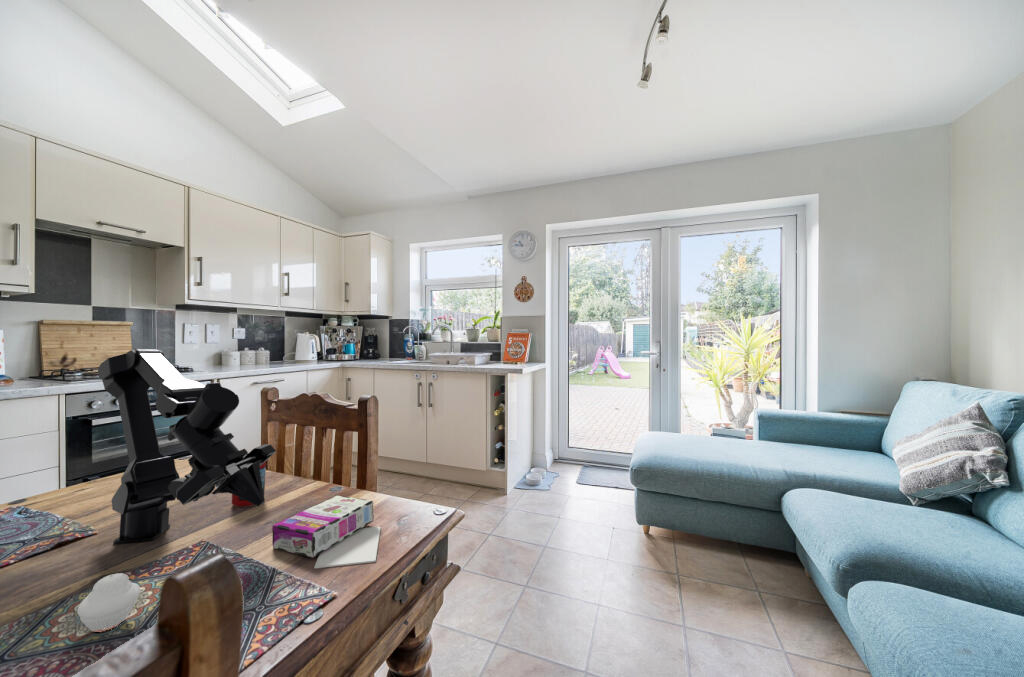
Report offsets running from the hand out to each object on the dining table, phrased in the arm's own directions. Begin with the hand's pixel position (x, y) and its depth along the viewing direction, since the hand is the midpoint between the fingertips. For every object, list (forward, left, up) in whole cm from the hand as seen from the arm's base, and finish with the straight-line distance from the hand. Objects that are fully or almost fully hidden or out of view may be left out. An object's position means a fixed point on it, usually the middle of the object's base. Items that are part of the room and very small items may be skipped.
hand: (261, 503), depth 72 cm
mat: (+16, +2, -10) cm, 19 cm away
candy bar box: (+5, +1, -8) cm, 9 cm away
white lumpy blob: (-14, -14, -11) cm, 23 cm away
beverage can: (-12, +29, -11) cm, 33 cm away
